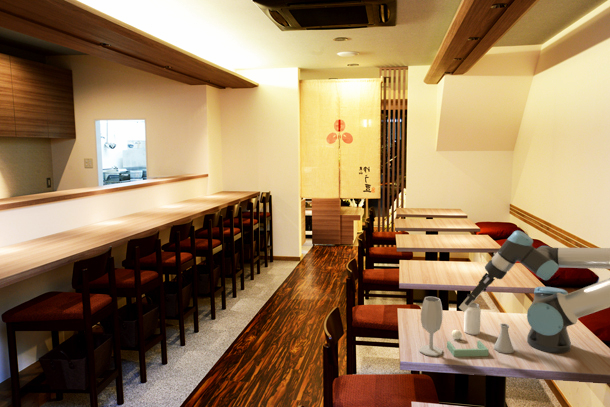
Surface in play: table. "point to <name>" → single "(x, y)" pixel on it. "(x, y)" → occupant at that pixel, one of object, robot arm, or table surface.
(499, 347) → the flask
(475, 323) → the can
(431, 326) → the wineglass
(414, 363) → the table surface
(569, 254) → the robot arm
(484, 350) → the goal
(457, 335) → the ball
